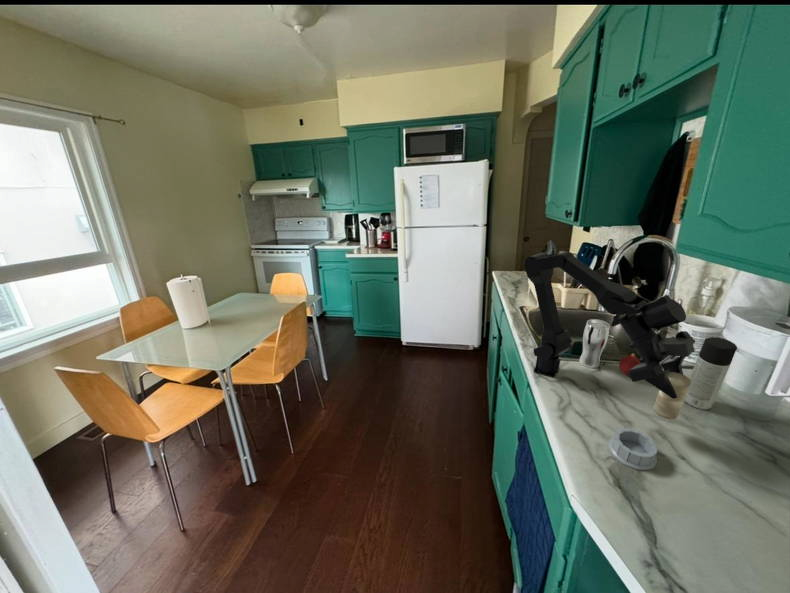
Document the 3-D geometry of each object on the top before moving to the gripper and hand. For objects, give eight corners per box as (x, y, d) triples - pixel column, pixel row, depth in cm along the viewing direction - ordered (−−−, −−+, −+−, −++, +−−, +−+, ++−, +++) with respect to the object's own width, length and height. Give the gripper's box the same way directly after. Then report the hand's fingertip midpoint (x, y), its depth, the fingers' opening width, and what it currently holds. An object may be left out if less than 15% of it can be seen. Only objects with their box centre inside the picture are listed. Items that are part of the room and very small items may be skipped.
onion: (641, 381, 111) (647, 360, 107) (620, 380, 112) (626, 358, 108) (633, 370, 116) (639, 349, 113) (614, 369, 117) (619, 348, 114)
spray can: (718, 409, 99) (745, 348, 91) (695, 411, 99) (720, 350, 90) (697, 393, 105) (721, 335, 97) (676, 395, 105) (698, 336, 96)
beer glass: (602, 370, 116) (612, 330, 110) (578, 366, 119) (587, 327, 112) (599, 358, 122) (608, 320, 116) (576, 355, 125) (584, 317, 118)
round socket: (607, 459, 85) (610, 448, 84) (609, 431, 93) (612, 421, 92) (657, 477, 81) (662, 465, 79) (655, 446, 88) (659, 435, 87)
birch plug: (653, 414, 89) (666, 380, 85) (653, 402, 93) (664, 369, 88) (678, 422, 87) (692, 387, 82) (676, 409, 91) (689, 375, 86)
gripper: (656, 336, 78) (700, 404, 74) (691, 312, 88) (732, 371, 84) (611, 351, 88) (649, 411, 84) (647, 328, 97) (683, 381, 93)
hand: (679, 393), depth 86 cm, fingers closed on birch plug, 5 cm apart
